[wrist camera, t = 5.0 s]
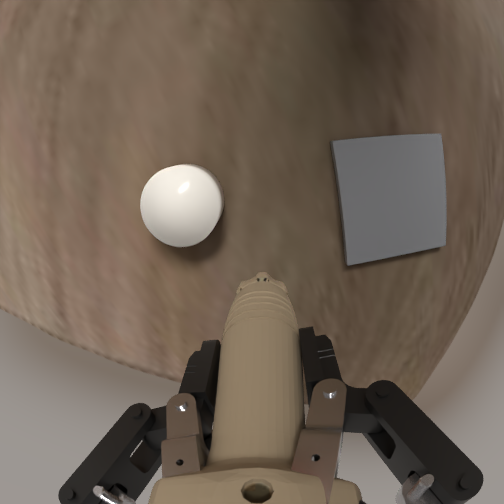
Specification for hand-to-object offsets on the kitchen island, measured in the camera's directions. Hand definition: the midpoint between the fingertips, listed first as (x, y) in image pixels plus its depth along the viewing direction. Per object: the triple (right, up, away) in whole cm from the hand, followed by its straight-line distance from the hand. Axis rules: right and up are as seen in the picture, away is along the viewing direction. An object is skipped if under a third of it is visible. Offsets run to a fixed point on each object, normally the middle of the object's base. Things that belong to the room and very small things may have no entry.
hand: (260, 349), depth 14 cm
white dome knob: (-7, +10, +13) cm, 17 cm away
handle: (0, +2, +6) cm, 6 cm away
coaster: (+14, +10, +12) cm, 21 cm away
